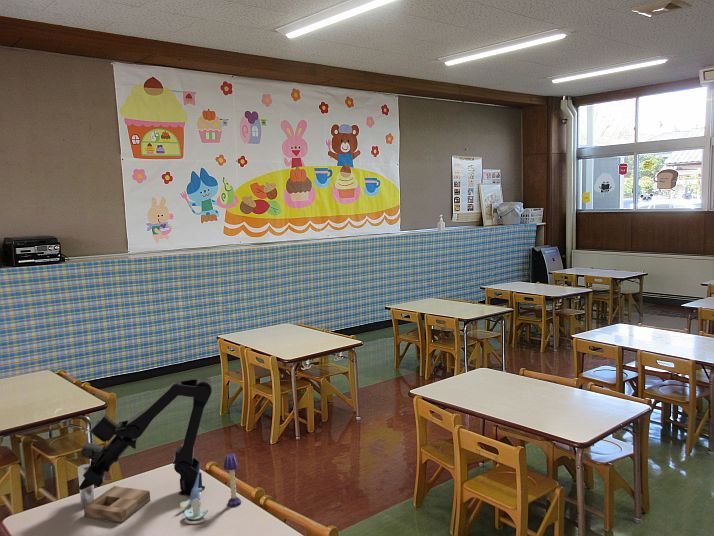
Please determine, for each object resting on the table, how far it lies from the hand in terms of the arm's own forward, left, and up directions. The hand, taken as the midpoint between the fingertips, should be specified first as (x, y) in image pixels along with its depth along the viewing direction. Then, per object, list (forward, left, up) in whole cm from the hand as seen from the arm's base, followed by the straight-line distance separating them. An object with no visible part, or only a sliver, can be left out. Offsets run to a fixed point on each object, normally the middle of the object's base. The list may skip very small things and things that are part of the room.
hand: (81, 485), depth 193 cm
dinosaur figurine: (-35, -10, -7) cm, 37 cm away
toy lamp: (-48, -13, -7) cm, 50 cm away
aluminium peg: (-1, -1, -7) cm, 7 cm away
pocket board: (-13, -1, -7) cm, 15 cm away
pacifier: (-41, -1, -7) cm, 42 cm away
